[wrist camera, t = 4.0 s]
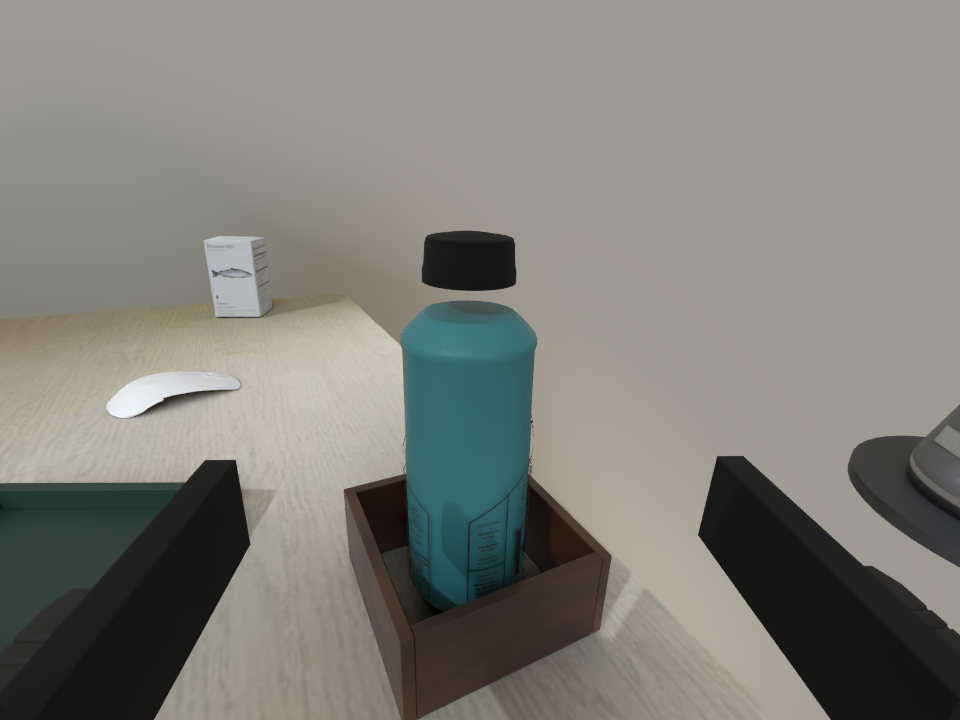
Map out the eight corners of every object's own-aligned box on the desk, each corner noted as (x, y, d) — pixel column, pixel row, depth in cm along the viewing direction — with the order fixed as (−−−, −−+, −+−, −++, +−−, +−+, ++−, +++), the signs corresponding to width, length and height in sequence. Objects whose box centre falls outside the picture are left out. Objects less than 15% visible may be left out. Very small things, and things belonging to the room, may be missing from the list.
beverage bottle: (528, 642, 24) (564, 242, 17) (398, 642, 24) (379, 237, 17) (516, 549, 30) (539, 227, 23) (413, 548, 30) (404, 223, 23)
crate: (600, 629, 25) (612, 555, 23) (403, 726, 20) (400, 642, 18) (500, 509, 34) (504, 449, 32) (349, 556, 29) (343, 489, 27)
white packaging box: (214, 318, 77) (200, 239, 72) (231, 307, 84) (219, 235, 79) (261, 318, 78) (250, 240, 73) (274, 307, 85) (265, 235, 80)
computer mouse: (247, 387, 52) (244, 367, 51) (117, 423, 43) (110, 401, 43) (223, 370, 56) (219, 352, 55) (99, 401, 48) (93, 380, 47)
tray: (238, 509, 33) (233, 481, 32) (99, 715, 20) (85, 678, 19) (4, 511, 32) (-7, 482, 31) (-295, 727, 19) (-328, 689, 18)
